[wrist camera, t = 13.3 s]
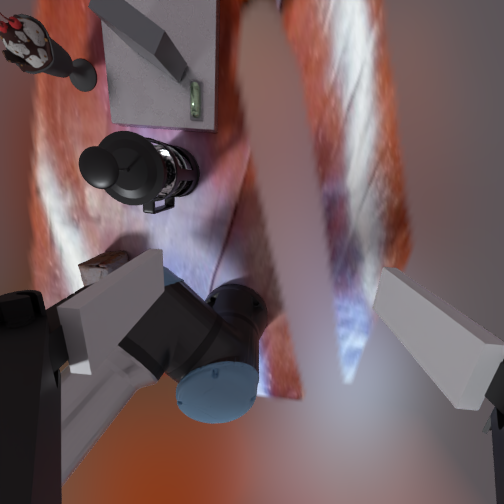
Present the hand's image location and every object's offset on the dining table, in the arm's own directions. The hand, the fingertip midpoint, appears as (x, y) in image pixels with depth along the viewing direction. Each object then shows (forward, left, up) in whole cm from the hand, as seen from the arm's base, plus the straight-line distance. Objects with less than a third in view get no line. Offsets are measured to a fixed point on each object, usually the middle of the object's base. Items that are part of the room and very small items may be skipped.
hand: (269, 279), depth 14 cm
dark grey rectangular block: (+24, +21, -31) cm, 45 cm away
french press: (+5, +18, -35) cm, 40 cm away
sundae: (+21, +34, -35) cm, 53 cm away
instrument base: (+23, +19, -35) cm, 46 cm away
